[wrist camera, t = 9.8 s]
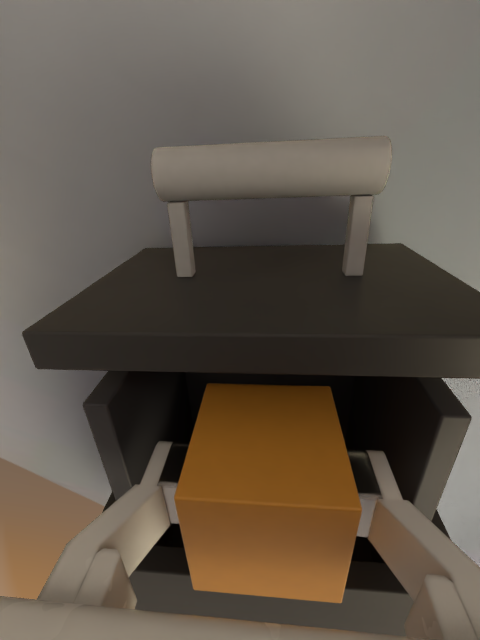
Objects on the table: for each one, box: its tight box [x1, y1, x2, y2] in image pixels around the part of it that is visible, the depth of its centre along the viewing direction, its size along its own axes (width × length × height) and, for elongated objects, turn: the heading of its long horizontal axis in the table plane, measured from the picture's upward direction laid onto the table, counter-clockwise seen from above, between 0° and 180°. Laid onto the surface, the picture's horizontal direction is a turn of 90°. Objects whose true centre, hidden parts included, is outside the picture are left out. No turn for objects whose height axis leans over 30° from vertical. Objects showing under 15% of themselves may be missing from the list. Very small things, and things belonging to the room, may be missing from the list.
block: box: [174, 383, 362, 603], centre depth 10 cm, size 4×4×4 cm
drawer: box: [22, 136, 480, 563], centre depth 13 cm, size 17×13×9 cm
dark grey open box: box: [102, 491, 451, 637], centre depth 19 cm, size 14×14×11 cm
